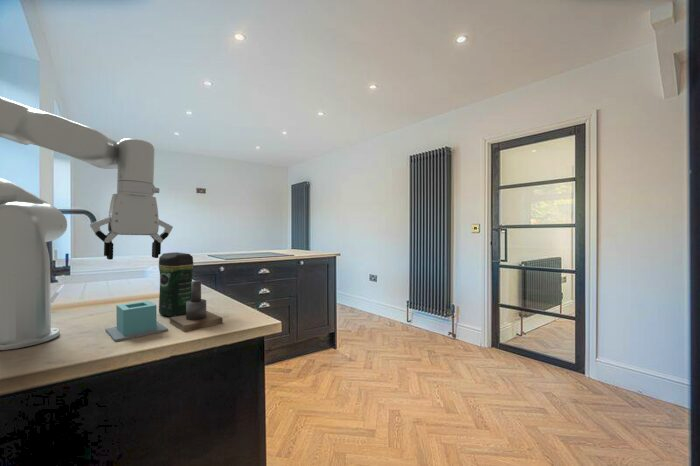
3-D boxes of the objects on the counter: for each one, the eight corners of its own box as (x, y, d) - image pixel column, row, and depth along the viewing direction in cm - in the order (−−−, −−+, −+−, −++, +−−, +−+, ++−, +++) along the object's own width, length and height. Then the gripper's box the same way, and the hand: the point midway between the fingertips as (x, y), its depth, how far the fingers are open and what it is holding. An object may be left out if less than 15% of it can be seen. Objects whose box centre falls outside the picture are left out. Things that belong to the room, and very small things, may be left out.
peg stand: (183, 331, 80) (183, 286, 80) (170, 323, 87) (170, 281, 87) (222, 323, 88) (222, 281, 87) (207, 315, 94) (207, 277, 94)
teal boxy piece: (116, 328, 80) (116, 305, 80) (148, 322, 86) (148, 300, 85) (123, 335, 76) (123, 310, 76) (156, 328, 81) (156, 305, 81)
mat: (115, 341, 73) (115, 339, 73) (105, 330, 80) (105, 328, 80) (168, 330, 81) (168, 328, 81) (154, 321, 88) (154, 319, 88)
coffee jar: (198, 312, 98) (198, 252, 97) (172, 319, 91) (172, 254, 90) (179, 308, 102) (179, 250, 102) (154, 314, 96) (153, 252, 95)
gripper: (168, 194, 89) (166, 255, 89) (88, 186, 76) (86, 258, 76) (178, 193, 84) (175, 258, 84) (94, 184, 71) (92, 261, 71)
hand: (133, 258), depth 80 cm, fingers open, 9 cm apart
